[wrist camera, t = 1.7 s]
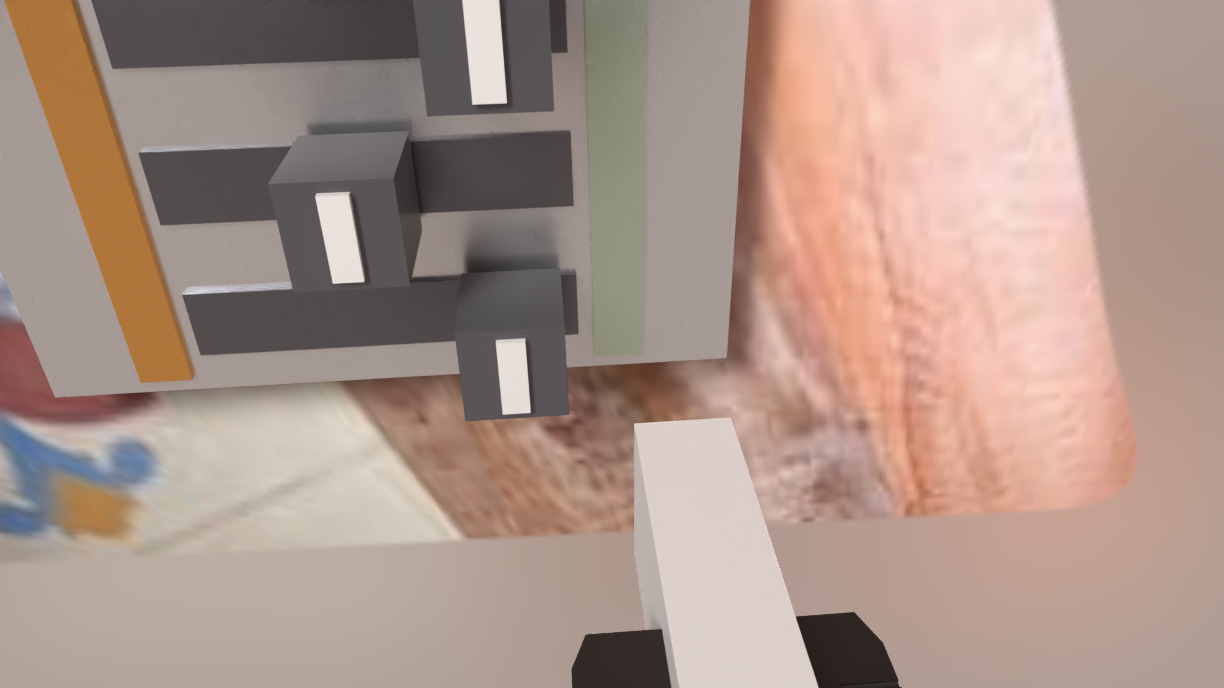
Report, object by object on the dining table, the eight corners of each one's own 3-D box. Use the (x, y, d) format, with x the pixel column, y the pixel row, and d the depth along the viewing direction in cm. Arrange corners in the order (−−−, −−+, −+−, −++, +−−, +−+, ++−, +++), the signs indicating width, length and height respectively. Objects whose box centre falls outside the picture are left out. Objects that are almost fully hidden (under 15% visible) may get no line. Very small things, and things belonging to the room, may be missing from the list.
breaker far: (471, 355, 29) (465, 425, 26) (461, 273, 27) (453, 336, 24) (564, 350, 29) (569, 419, 26) (560, 268, 28) (564, 330, 24)
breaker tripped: (318, 234, 26) (291, 296, 23) (298, 135, 25) (266, 187, 22) (422, 230, 26) (409, 290, 23) (408, 130, 25) (392, 181, 22)
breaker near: (438, 75, 24) (426, 119, 21) (424, -45, 23) (409, -17, 19) (550, 71, 24) (554, 114, 21) (544, -49, 23) (547, -21, 20)
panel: (80, 363, 31) (52, 401, 29) (-98, -88, 23) (-152, -76, 21) (716, 327, 32) (728, 361, 30) (740, -108, 25) (758, -99, 23)
